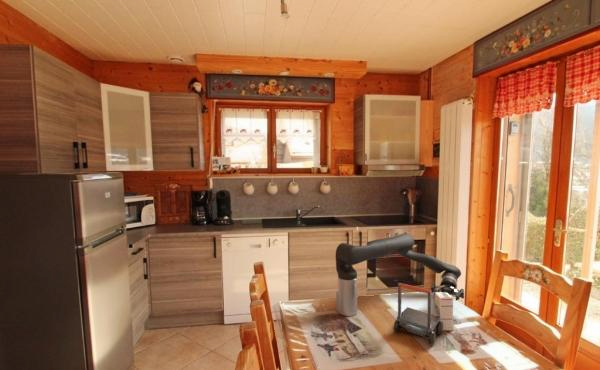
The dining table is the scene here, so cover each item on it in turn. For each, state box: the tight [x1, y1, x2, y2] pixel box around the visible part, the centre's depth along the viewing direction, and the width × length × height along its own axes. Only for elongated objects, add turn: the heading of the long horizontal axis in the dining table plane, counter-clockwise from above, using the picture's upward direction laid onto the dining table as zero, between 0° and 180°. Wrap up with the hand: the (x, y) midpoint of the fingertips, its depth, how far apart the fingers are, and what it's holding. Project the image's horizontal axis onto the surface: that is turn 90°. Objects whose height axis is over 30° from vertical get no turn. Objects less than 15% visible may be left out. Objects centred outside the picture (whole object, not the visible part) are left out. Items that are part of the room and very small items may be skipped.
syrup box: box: [434, 292, 454, 331], centre depth 129 cm, size 6×6×14 cm
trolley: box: [393, 282, 444, 346], centre depth 125 cm, size 15×15×21 cm
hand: (446, 296), depth 137 cm, fingers open, 8 cm apart
